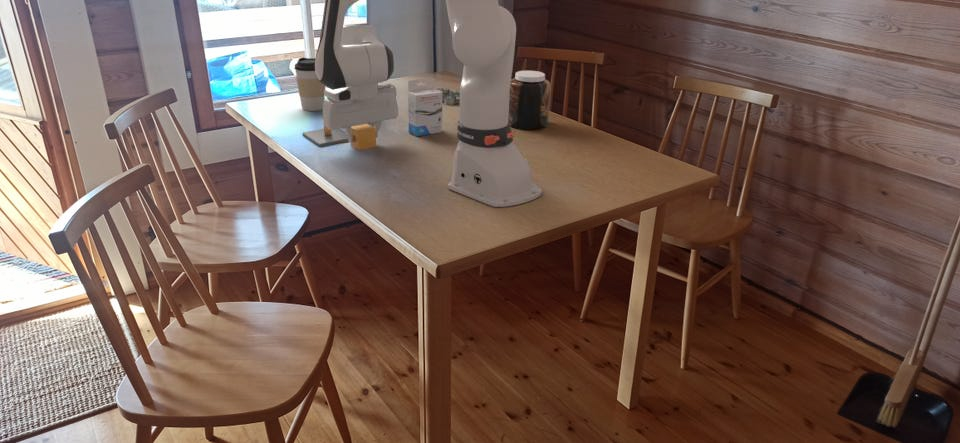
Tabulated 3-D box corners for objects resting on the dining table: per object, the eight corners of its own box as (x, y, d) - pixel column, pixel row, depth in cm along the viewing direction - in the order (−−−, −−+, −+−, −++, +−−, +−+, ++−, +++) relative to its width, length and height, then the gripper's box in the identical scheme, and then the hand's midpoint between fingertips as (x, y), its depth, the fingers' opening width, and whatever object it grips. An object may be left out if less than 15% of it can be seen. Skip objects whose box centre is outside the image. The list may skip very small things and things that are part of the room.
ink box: (416, 137, 186) (415, 84, 179) (408, 132, 189) (406, 80, 183) (443, 132, 190) (443, 80, 184) (434, 127, 194) (433, 76, 187)
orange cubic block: (376, 146, 178) (375, 128, 176) (359, 150, 175) (358, 131, 173) (367, 141, 181) (366, 123, 179) (350, 144, 179) (349, 126, 177)
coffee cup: (334, 107, 210) (330, 58, 203) (313, 113, 203) (308, 64, 197) (313, 102, 214) (309, 54, 208) (292, 108, 207) (287, 59, 201)
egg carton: (466, 103, 218) (466, 91, 216) (446, 107, 214) (446, 94, 212) (449, 95, 226) (449, 83, 224) (429, 98, 222) (429, 86, 220)
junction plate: (354, 140, 182) (353, 124, 180) (319, 146, 177) (318, 131, 175) (336, 129, 190) (335, 114, 188) (302, 135, 185) (301, 120, 183)
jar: (518, 132, 191) (521, 80, 185) (500, 120, 201) (502, 70, 194) (554, 128, 196) (558, 76, 189) (535, 116, 205) (538, 67, 199)
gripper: (389, 80, 179) (391, 129, 185) (318, 90, 168) (322, 143, 174) (401, 85, 175) (403, 136, 181) (328, 96, 164) (333, 150, 170)
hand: (363, 139), depth 177 cm, fingers closed on orange cubic block, 5 cm apart
